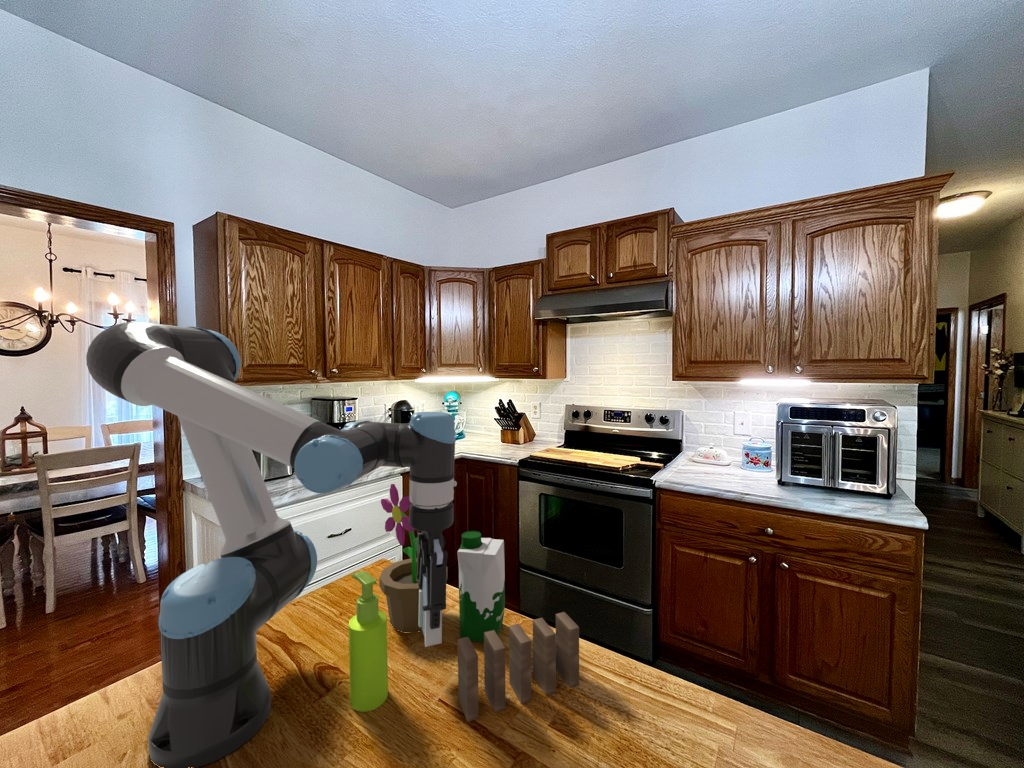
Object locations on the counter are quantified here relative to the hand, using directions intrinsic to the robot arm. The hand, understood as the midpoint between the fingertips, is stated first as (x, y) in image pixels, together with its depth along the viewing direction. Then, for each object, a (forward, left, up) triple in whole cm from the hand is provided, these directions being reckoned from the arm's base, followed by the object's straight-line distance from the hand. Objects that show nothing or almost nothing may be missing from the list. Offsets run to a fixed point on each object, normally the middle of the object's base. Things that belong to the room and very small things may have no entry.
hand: (429, 633), depth 75 cm
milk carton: (+13, +9, -8) cm, 17 cm away
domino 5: (+18, -9, -8) cm, 21 cm away
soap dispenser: (-10, 0, -8) cm, 13 cm away
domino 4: (+13, -9, -8) cm, 18 cm away
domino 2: (+4, -9, -8) cm, 13 cm away
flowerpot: (+1, +19, -8) cm, 20 cm away
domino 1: (0, 0, 0) cm, 0 cm away
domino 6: (+22, -9, -8) cm, 25 cm away
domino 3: (+9, -9, -8) cm, 15 cm away
